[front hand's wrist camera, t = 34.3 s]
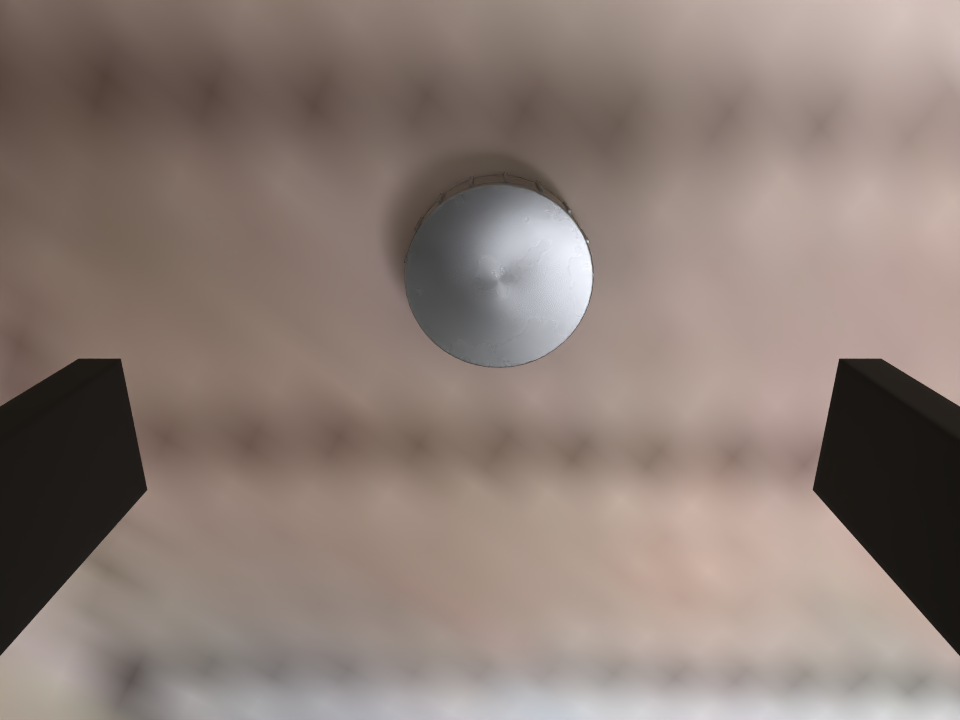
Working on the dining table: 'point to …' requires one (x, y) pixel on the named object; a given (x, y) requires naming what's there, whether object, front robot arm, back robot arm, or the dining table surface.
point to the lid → (498, 272)
